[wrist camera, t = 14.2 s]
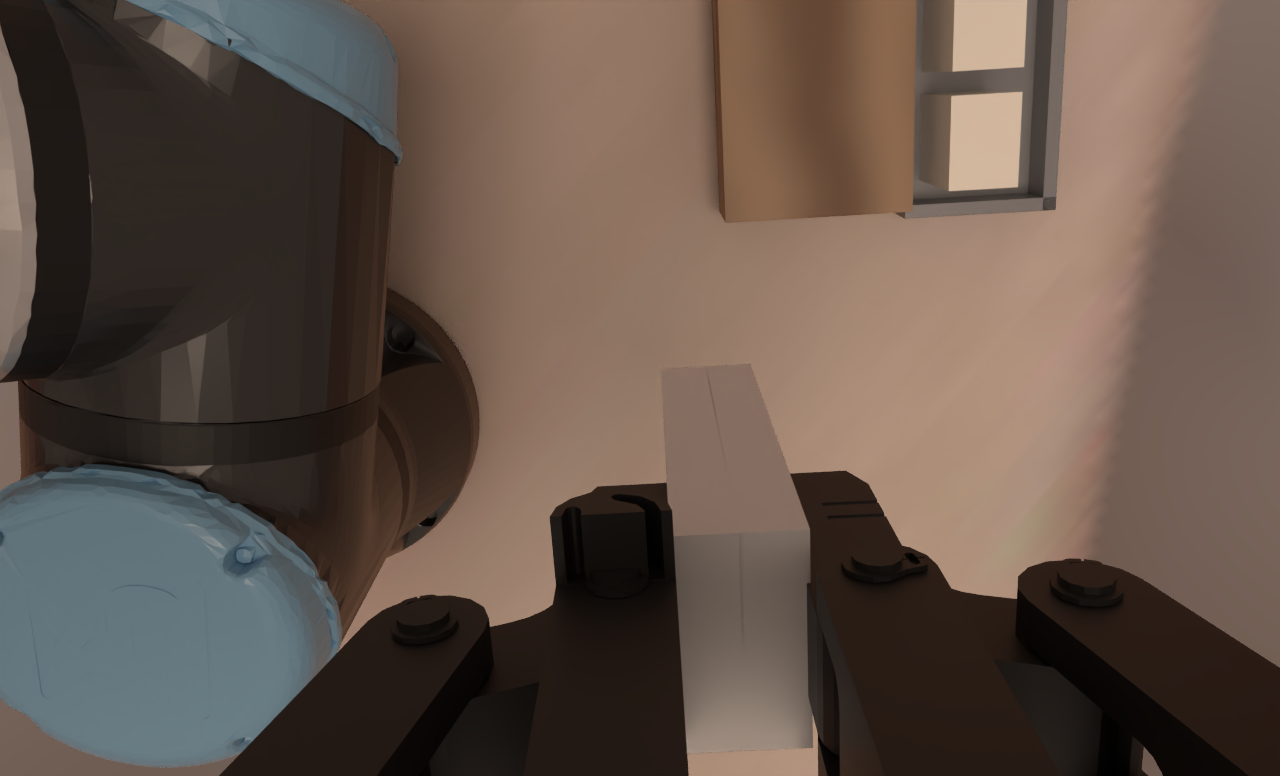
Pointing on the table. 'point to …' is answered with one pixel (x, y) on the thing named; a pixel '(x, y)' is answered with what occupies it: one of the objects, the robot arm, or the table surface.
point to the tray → (1037, 119)
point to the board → (814, 107)
